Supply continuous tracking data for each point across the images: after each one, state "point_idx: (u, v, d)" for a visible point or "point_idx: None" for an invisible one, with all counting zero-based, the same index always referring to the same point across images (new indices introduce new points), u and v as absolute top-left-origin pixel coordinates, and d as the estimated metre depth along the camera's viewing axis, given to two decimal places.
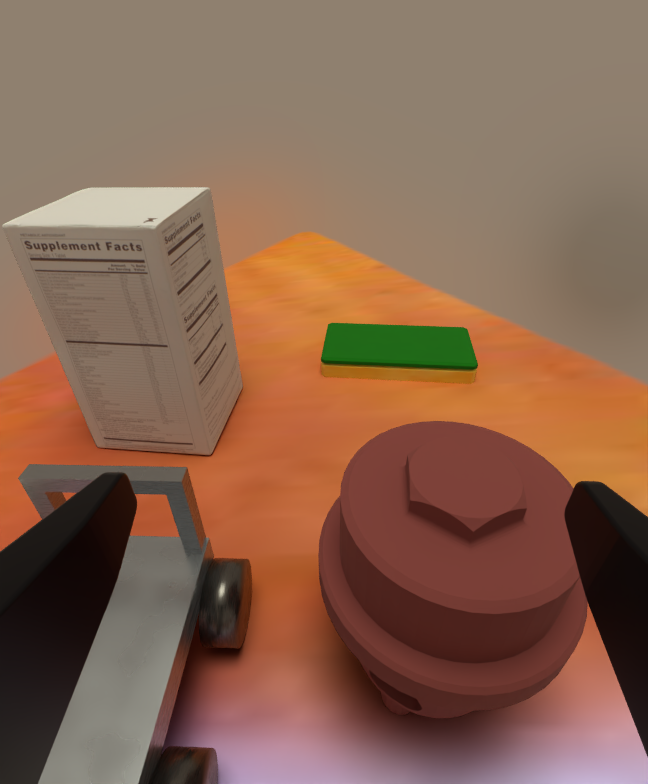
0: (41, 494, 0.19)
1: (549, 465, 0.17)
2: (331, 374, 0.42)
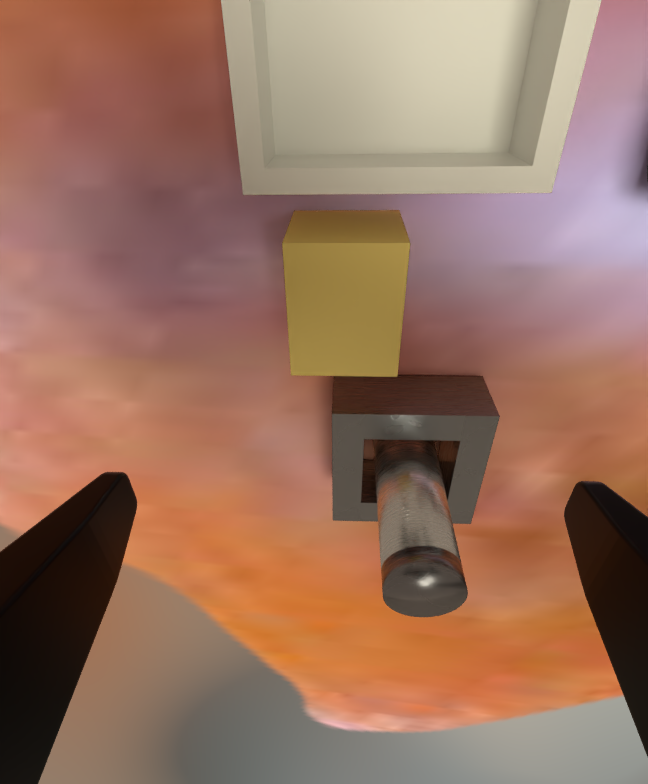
0: None
1: None
2: None
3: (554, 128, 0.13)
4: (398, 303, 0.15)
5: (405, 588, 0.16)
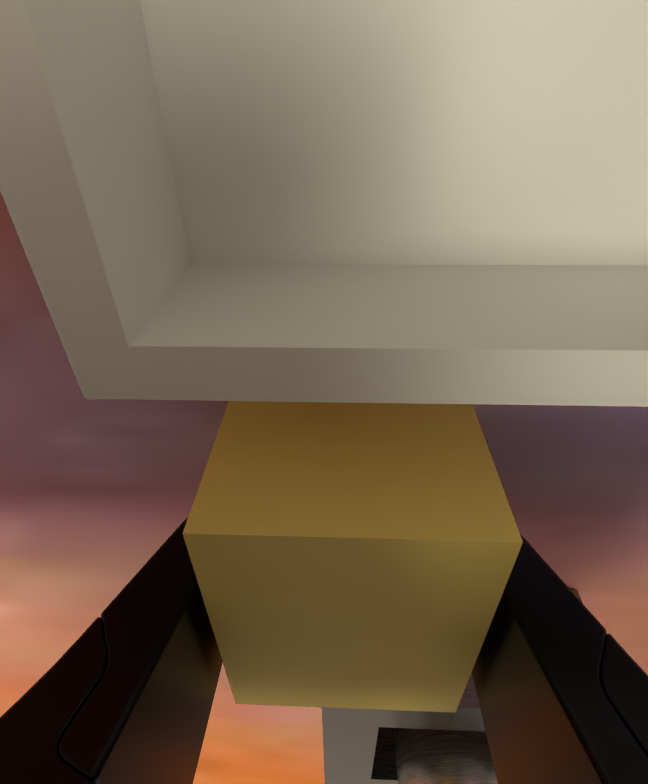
0: None
1: None
2: None
3: None
4: (474, 631, 0.06)
5: None
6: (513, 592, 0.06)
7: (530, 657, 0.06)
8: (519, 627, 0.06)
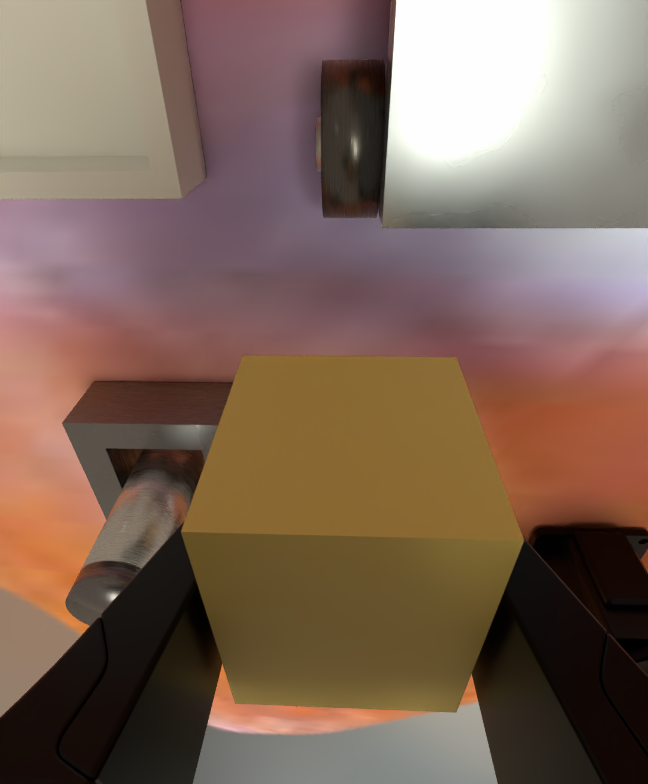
0: None
1: None
2: None
3: (155, 132, 0.12)
4: (475, 630, 0.06)
5: (85, 604, 0.16)
6: (513, 592, 0.06)
7: (530, 657, 0.06)
8: (519, 627, 0.06)
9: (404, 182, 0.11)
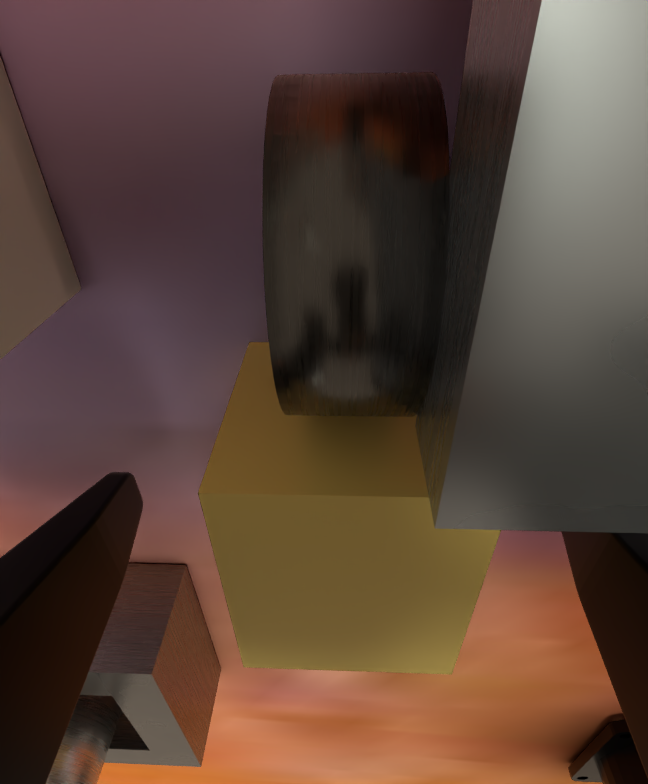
0: None
1: None
2: None
3: None
4: (468, 589, 0.07)
5: None
6: None
7: None
8: None
9: (510, 443, 0.04)
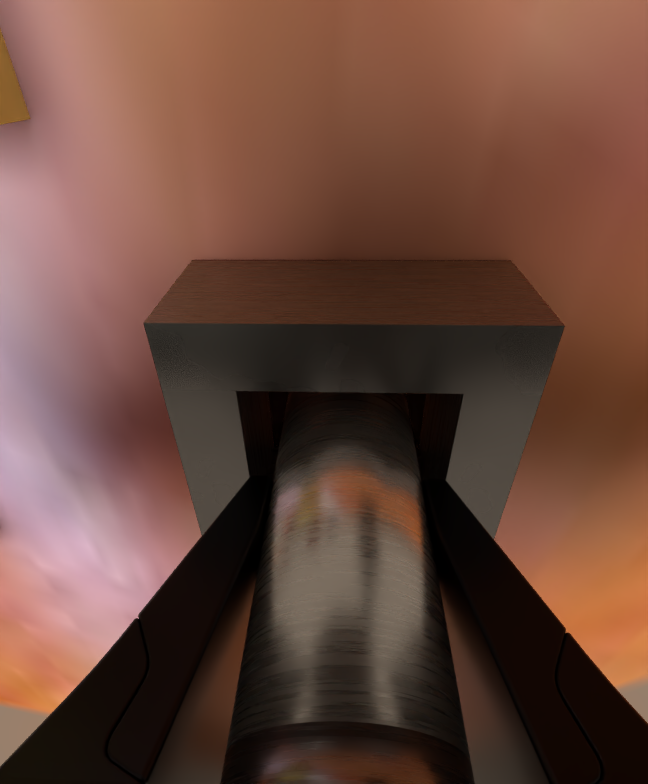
0: None
1: None
2: None
3: None
4: None
5: None
6: (476, 591, 0.06)
7: (489, 655, 0.06)
8: (480, 626, 0.06)
9: None
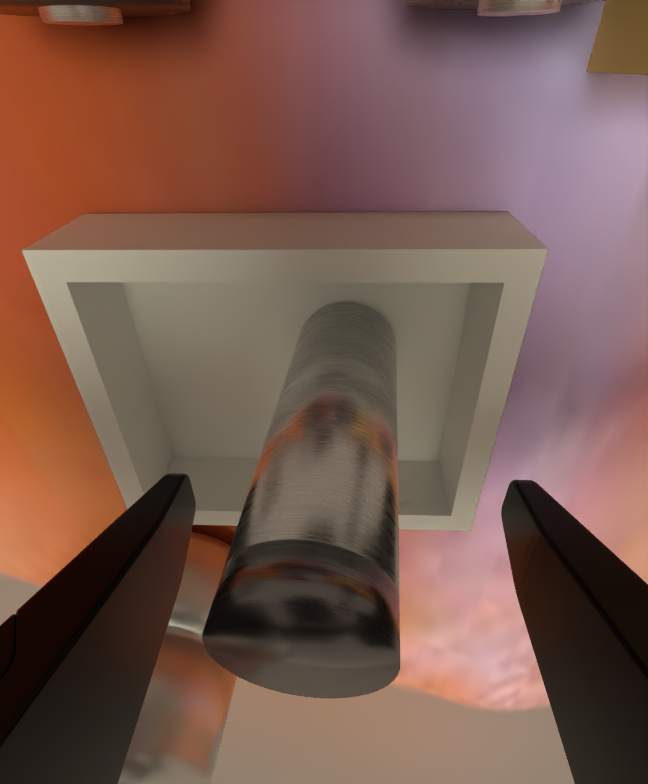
0: None
1: None
2: None
3: (463, 266, 0.10)
4: None
5: (276, 674, 0.07)
6: (600, 594, 0.06)
7: (626, 660, 0.06)
8: (611, 630, 0.06)
9: None
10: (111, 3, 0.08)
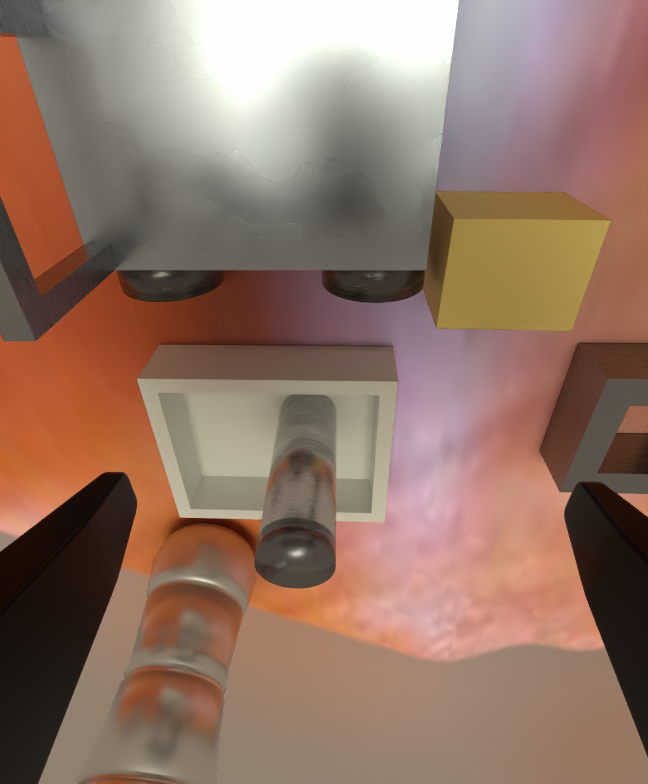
0: (47, 301, 0.12)
1: None
2: None
3: (358, 388, 0.20)
4: (515, 226, 0.15)
5: (285, 576, 0.17)
6: None
7: None
8: None
9: (393, 255, 0.14)
10: None
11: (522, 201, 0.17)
